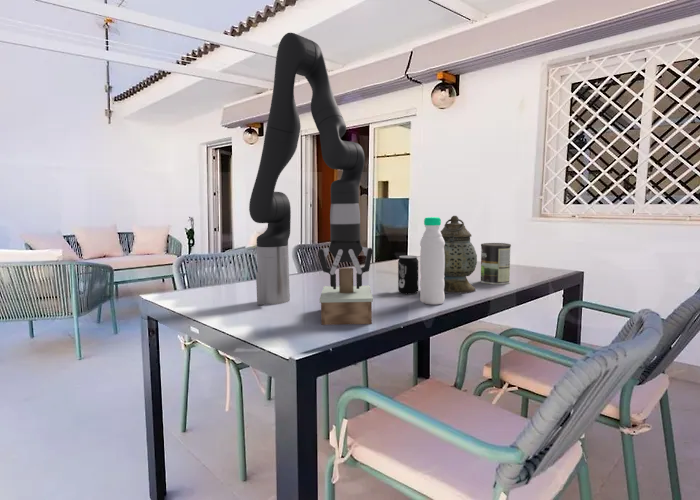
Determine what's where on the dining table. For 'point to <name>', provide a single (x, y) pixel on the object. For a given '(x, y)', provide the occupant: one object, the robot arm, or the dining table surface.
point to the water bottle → (432, 263)
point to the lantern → (458, 257)
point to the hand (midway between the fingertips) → (346, 288)
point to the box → (346, 313)
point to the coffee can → (495, 263)
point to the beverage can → (408, 274)
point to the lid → (346, 290)
